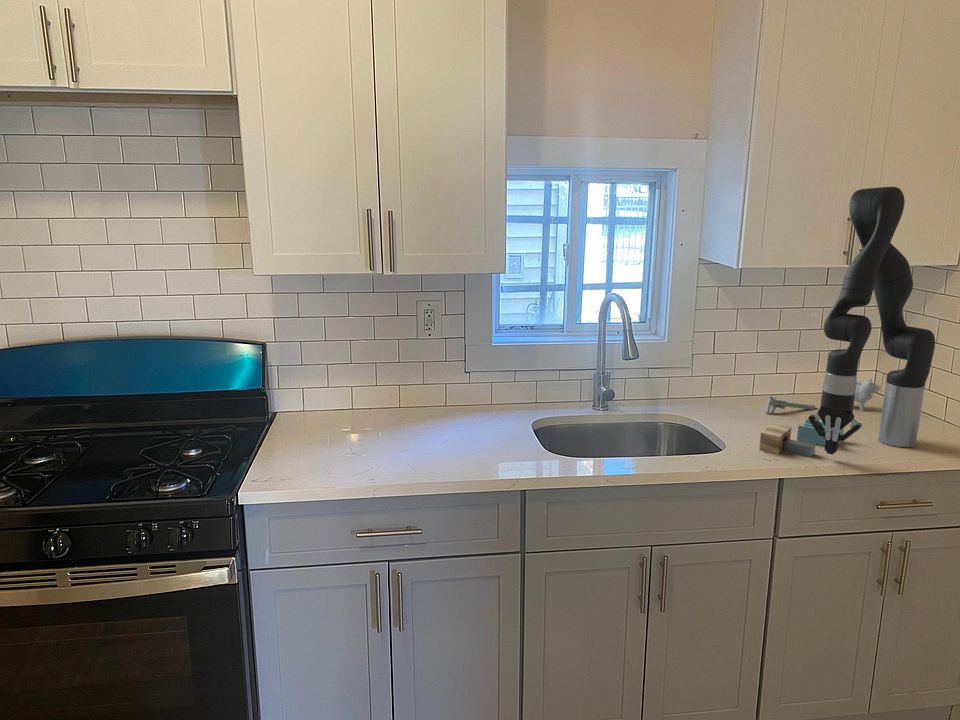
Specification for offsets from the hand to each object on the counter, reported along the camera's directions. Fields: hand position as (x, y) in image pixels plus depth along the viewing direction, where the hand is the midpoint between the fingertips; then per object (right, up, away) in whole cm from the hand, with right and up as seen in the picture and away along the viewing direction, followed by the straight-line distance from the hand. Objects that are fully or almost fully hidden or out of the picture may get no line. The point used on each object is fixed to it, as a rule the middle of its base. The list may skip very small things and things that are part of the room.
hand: (830, 453), depth 176 cm
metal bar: (-8, -1, +7) cm, 10 cm away
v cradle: (+5, +2, +15) cm, 16 cm away
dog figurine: (+32, +8, +46) cm, 57 cm away
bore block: (-11, 0, +10) cm, 14 cm away
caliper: (+10, +7, +43) cm, 45 cm away
